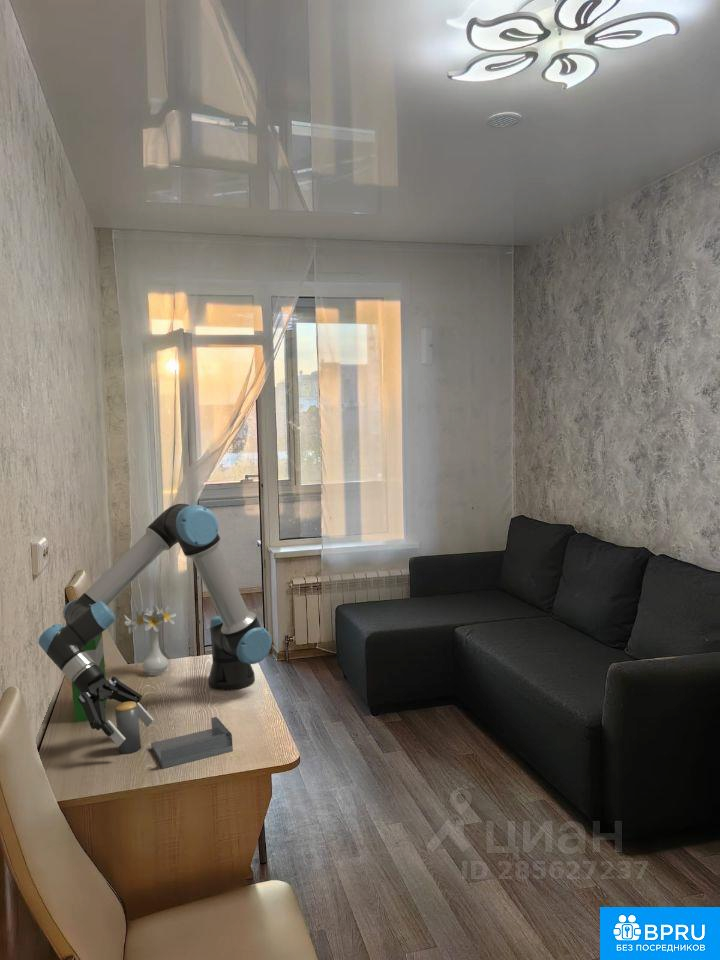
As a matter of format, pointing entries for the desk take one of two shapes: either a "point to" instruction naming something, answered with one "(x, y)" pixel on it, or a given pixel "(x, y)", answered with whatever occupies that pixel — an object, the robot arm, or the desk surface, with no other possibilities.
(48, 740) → the desk surface
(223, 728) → the plate
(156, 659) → the flower vase
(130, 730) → the grey cylinder orange top
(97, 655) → the hardback book
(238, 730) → the desk surface
